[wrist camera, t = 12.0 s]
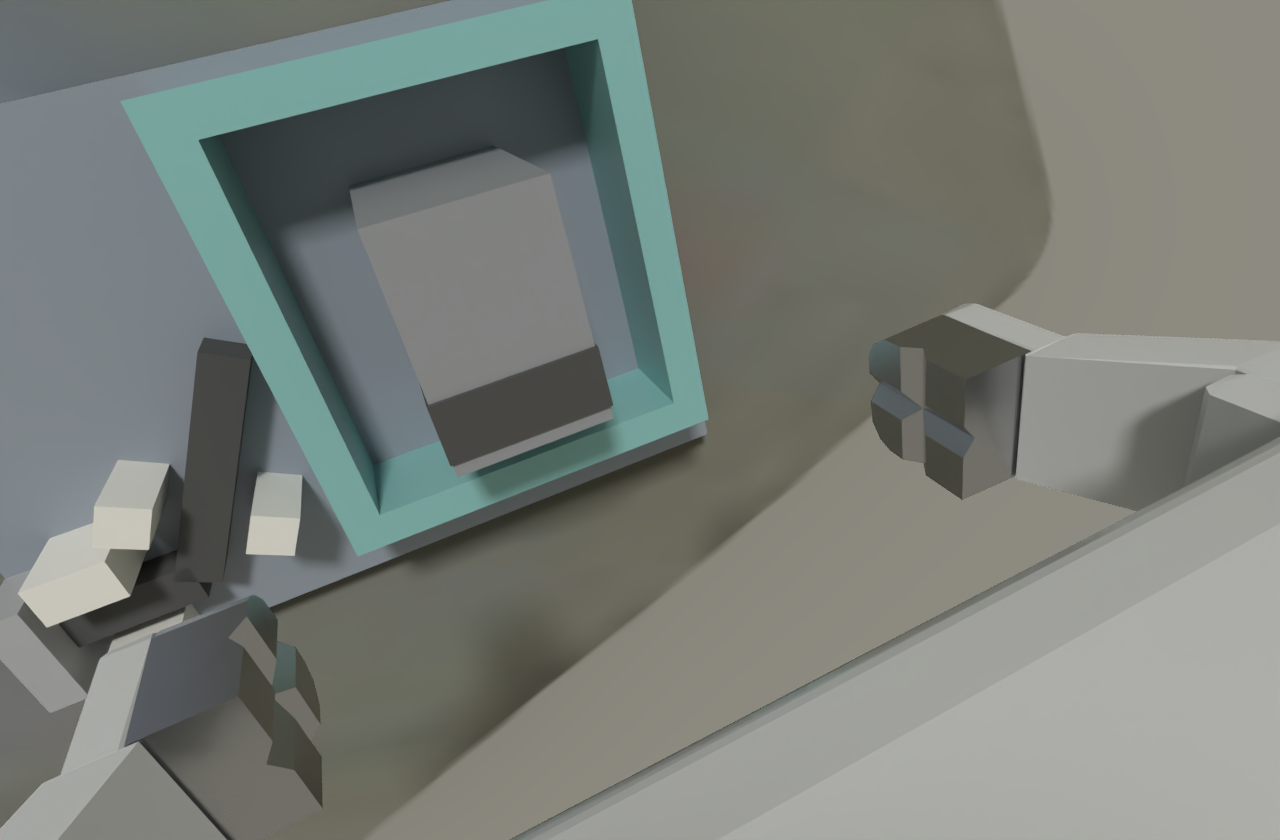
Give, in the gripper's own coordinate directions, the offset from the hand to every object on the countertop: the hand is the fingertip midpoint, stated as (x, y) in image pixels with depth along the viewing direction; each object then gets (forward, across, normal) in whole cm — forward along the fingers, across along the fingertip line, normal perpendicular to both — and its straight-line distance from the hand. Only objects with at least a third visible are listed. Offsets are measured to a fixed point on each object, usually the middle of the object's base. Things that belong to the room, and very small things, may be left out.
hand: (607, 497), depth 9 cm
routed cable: (+14, +10, +4) cm, 17 cm away
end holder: (+15, 0, +1) cm, 15 cm away
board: (+15, +4, +2) cm, 15 cm away
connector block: (+14, 0, +1) cm, 14 cm away
